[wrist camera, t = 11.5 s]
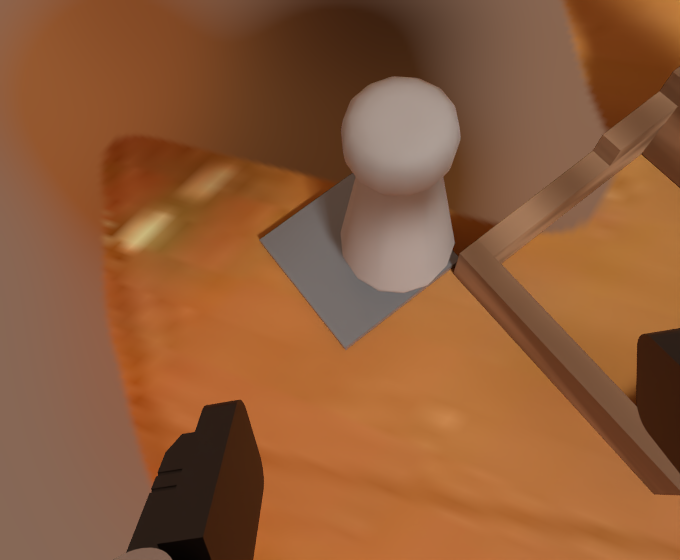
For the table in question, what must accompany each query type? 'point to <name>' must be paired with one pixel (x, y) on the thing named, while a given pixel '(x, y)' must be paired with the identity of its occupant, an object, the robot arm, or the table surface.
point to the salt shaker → (398, 183)
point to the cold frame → (530, 317)
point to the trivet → (332, 267)
